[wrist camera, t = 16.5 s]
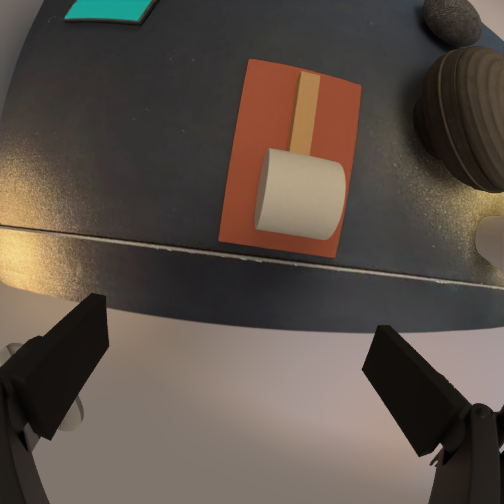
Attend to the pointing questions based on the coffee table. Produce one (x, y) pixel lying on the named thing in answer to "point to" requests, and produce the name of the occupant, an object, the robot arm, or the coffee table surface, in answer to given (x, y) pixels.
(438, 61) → the pot
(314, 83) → the mallet
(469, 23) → the decorative ball
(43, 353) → the robot arm
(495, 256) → the cup
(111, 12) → the smartphone
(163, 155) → the coffee table surface
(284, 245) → the mat
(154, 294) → the coffee table surface
